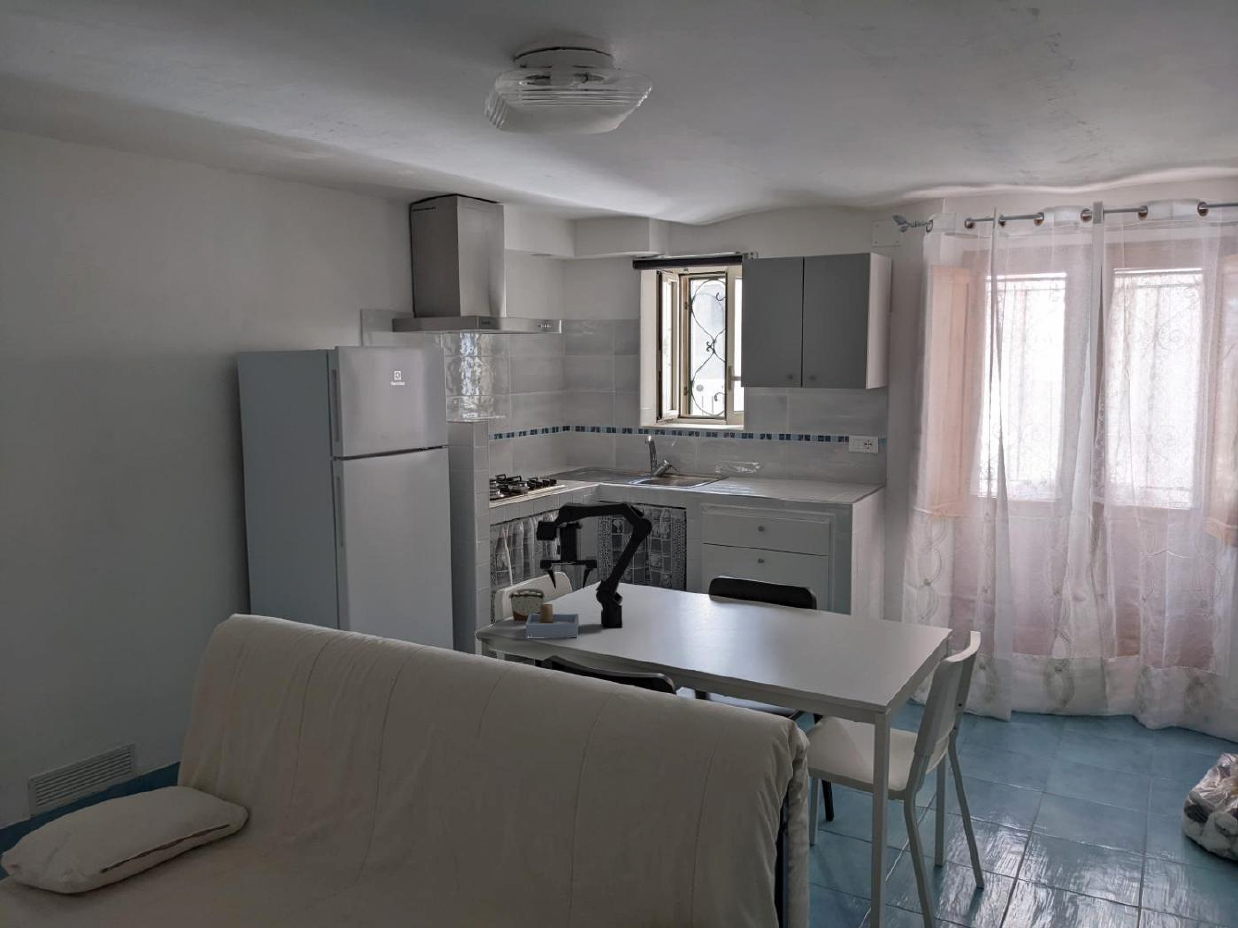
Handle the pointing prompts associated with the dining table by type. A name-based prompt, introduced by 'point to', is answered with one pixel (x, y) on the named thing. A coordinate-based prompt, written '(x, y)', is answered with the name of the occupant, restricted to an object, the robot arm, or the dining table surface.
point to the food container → (526, 603)
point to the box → (553, 626)
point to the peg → (546, 614)
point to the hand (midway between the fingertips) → (569, 588)
